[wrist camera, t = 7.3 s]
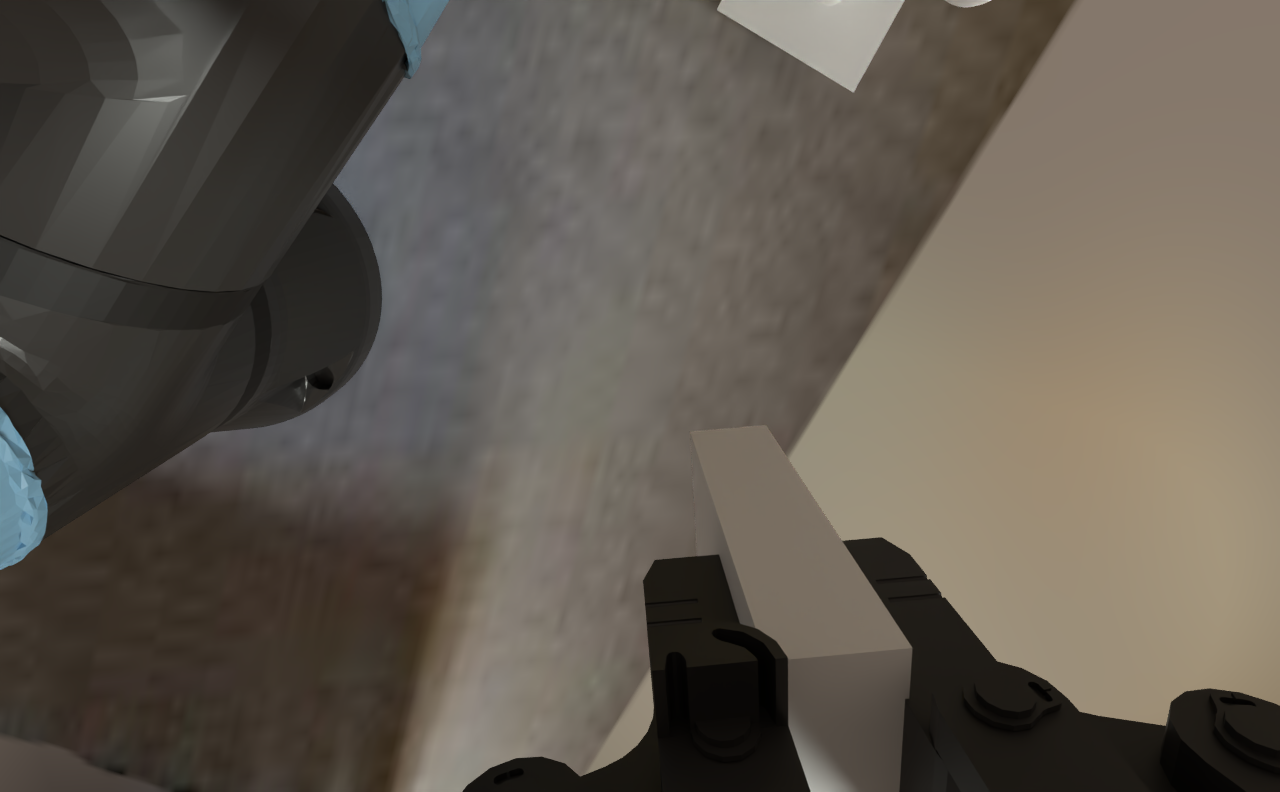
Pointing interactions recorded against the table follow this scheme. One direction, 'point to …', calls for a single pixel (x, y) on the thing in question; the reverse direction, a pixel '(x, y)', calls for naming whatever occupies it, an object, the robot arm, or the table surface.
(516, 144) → the table surface
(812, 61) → the figurine
